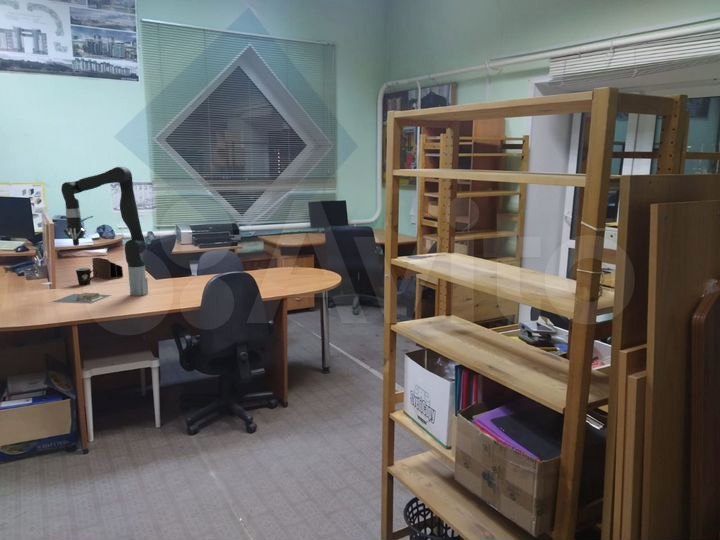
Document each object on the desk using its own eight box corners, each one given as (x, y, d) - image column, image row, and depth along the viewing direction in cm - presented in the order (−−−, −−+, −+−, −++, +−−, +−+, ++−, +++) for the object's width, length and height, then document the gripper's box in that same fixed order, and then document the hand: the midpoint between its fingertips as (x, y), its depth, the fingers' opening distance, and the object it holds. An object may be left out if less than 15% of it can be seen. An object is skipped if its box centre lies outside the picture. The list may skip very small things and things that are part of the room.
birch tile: (85, 296, 310) (99, 297, 309) (77, 299, 303) (92, 300, 302) (84, 292, 309) (99, 293, 308) (76, 295, 303) (91, 295, 302)
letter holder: (110, 280, 363) (108, 259, 360) (93, 276, 373) (91, 256, 370) (123, 277, 371) (121, 257, 368) (106, 274, 381) (104, 255, 379)
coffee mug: (75, 286, 343) (73, 270, 341) (79, 283, 352) (78, 268, 350) (94, 285, 346) (93, 270, 344) (98, 282, 354) (97, 267, 352)
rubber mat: (112, 296, 315) (112, 295, 315) (91, 305, 295) (91, 303, 295) (74, 295, 318) (74, 293, 318) (51, 303, 298) (50, 301, 298)
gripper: (87, 215, 318) (90, 244, 321) (67, 215, 320) (70, 244, 323) (79, 217, 311) (82, 246, 314) (58, 216, 312) (61, 246, 316)
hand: (76, 245), depth 318 cm, fingers closed
